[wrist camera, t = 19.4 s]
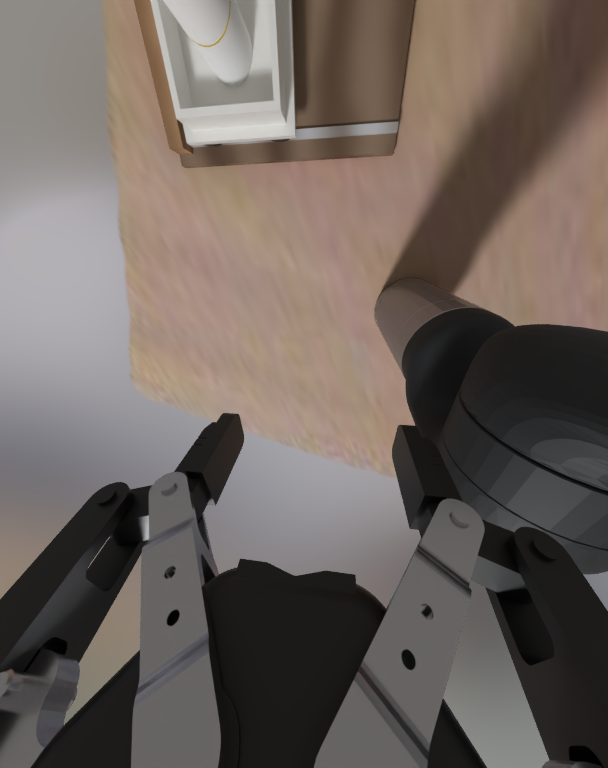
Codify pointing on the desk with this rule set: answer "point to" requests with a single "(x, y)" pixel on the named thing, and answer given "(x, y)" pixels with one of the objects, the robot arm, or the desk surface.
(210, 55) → the tube
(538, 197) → the desk surface
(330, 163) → the desk surface
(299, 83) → the track
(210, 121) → the white open tray
